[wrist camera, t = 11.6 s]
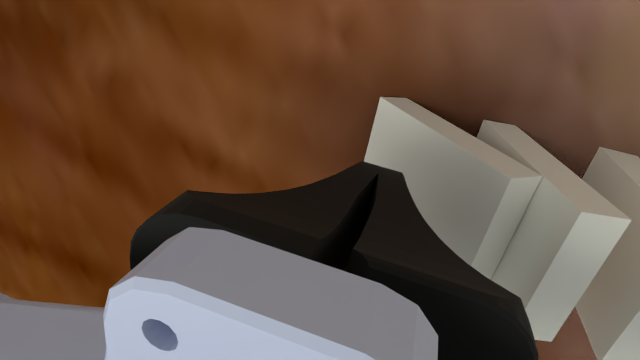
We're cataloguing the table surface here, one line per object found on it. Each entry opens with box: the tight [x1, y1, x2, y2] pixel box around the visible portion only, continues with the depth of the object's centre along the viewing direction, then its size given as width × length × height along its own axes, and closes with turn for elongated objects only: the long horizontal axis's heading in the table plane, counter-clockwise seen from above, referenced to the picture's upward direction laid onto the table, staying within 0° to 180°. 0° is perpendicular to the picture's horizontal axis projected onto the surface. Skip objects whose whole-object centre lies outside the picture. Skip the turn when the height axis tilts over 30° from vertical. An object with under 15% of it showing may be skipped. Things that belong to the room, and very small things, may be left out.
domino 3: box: [575, 147, 640, 360], centre depth 12 cm, size 4×1×6 cm, turn 170°
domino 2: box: [477, 120, 632, 342], centre depth 12 cm, size 4×1×6 cm, turn 170°
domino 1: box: [364, 97, 542, 280], centre depth 13 cm, size 4×1×6 cm
